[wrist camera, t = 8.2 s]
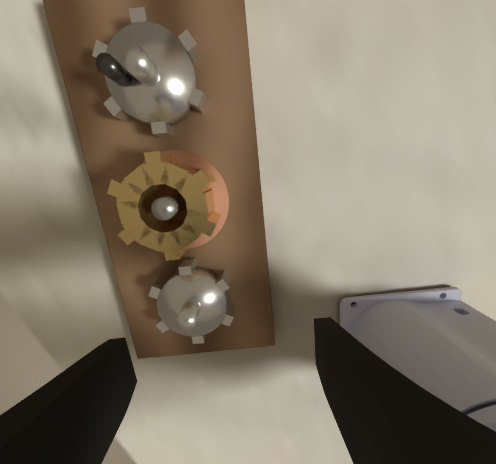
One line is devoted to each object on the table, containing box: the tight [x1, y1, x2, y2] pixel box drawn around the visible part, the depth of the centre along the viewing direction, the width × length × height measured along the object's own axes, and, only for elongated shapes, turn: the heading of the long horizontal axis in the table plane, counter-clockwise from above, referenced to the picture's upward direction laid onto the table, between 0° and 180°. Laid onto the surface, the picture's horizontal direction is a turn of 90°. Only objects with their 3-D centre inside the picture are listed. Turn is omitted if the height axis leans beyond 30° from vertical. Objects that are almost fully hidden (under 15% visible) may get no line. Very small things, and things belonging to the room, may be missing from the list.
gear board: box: [43, 0, 275, 359], centre depth 16 cm, size 11×24×1 cm, turn 6°
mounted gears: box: [92, 7, 235, 344], centre depth 14 cm, size 6×20×3 cm, turn 6°
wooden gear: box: [107, 151, 221, 261], centre depth 14 cm, size 6×6×3 cm
